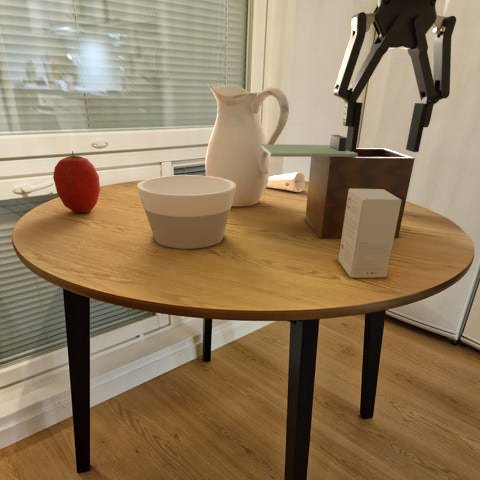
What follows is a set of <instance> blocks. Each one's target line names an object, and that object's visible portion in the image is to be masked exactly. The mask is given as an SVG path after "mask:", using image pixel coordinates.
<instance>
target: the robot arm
mask: <svg viewBox="0 0 480 480" xmlns="http://www.w3.org/2000/svg"><path fill="white" fill-rule="evenodd" d="M436 2H437V0H377V4H376V6H375V8H374V10H373V12H368V13H366V12H364V11H361V12H359V13H356V14H354V15H353V16H352V17H351V22H350V23H351V24H350V26H351V27H350V29H351V30H350V37H349V39H348V40H349V41H348V43H347V46H346V49H345V53H344V56H343V59H342V62H341V66H340V68H339V71H338V75H337V77H336V81H335V84H334V87H333V90H332V93H333V95H334V96H335V97H337V98H340V99H342V100H343V101H344V106H343V107H344V108H343V115H342V126H343V127H347V132H346V146H345V149H346V150H348V151H350V152H356V148H357V146H358V145H357V144H358V139H359V131H360V125H361V117H362V110H363V102H359V101H358V99H359V98H360V96H361V94H362V93H363V91H364V89H365V88H366V86H367V84H368V82H369V81H370V79H371V77H372V76H373V74H374V72H375V71H376V69H377V67H378V65H379V64H380V62H381V60H382V58H383V57H384V55H385V54H386V53H387V52H388V51H389V50H391V49H399V50H407V53H408V55H409V56H410V60H411V63H412V68H413V72H414V77H415V81H416V85H417V89H418V94H419V99H420V102H415V103H414V106H413V111H412V117H411V122H410V127H409V132H408V135H407V140H406V146H405V150H406V151H409V152H413V153H419V151H420V147H421V142H422V137H423V133H424V128H428V127H429V125H430V123H431V119H432V114H433V110H434V105H435V104H438V103H439V101H441V100H443V99H445V100H446V99H447V98H449V96H450V94H451V67H452V65H451V63H452V37H453V33H454V30H455V26H456V23H457V17H456V15H450V16H443V15H438V13H437V10H436V4H437V3H436ZM371 25H373V28H374V30H375V33H376V35H377V36H376V38H375V39H374V41H373V43H372V45H371V47H370V48H369V52H368V54H367V55H366V57H365V59H364V61H363V63H362V64H361V66H360V68H359V70H358V71H357V73H356V75H355V77H354V78H353V80H352V77H353V75H354V71H355V68H356V65H357V62H358V59H359V57H360V53H361V50H362V47H363V44H364V42H365V37H366V33H367V32H368V31H369V30H370V29H371ZM431 28H432V29H433V30H432V33H433V35H434V39H433V69H432V68H431V63H430V58H429V54H428V50H429V45H428V41H427V40H428V39H427V36H426V35H427V33H428V32H429V31H430V30H431ZM351 80H352V82H351ZM350 83H351V84H350Z"/></svg>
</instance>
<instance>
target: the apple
mask: <svg viewBox="0 0 480 480" xmlns="http://www.w3.org/2000/svg"><path fill="white" fill-rule="evenodd" d="M71 153H72V155H69V156H66V157H64V158H62V159H60V160H59V161H58V162H57V163H56V165H55V167H54V170H53V176H52V179H53V182H54V187H55V190H56V194H57V196H58V197H59V199H60V200H61V203H62V204H63V205H64V207H66V208H67V209H69V210H70V211H72V213H78V214H87V213H90V212H92V210H93V209H94V208H95V206H96V205H97V203H98V199H99V196H100V193H101V186H100V185H101V184H100V176H99V174H98V172H97V170H96V168H95V166H94V164H93V163H92V162H91V160H89V159H88V158H87V157H83V156H80V155H74V151H73V150H72V151H71Z"/></svg>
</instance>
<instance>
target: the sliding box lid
mask: <svg viewBox="0 0 480 480" xmlns="http://www.w3.org/2000/svg"><path fill="white" fill-rule="evenodd" d="M346 138H347V136H343V135H340V134H330V139H329V144H279V143H278V144H275V143H274V144H261V148H262V149H263V150H264V151H265V152H267V153H268V154H269V155H270V158H272V157H273V158H274V157H275V158H276V157H277V158H278V157H282V158H285V157H287V158H289V157H290V158H294V157H295V158H296V157H297V158H311V157H358V154H357V153H355V152H350V151H348V150H346V149H345V146H346Z"/></svg>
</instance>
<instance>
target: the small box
mask: <svg viewBox="0 0 480 480" xmlns="http://www.w3.org/2000/svg"><path fill="white" fill-rule="evenodd" d="M401 202H402V200H401V199H399V198H397V197H396V196H394V195H392V194H391V193H389V192H387V191H386V190H384V189H349V191H348V197H347V204H346V211H345V218H344V224H343V232H342V238H340V245H339V252H338V258H337V259H338V260H337V261H338V262H339V264H340V265H341V266H342V268H343V269H344V271H345V272H346V273H347V275H348V276H349V277H350V278H352V279H353V278H358V279H359V278H363V279H364V278H365V279H366V278H367V279H369V278H371V279H373V278H387V275H388V271H389V266H390V261H391V255H392V250H393V246H394V242H395V237H394V236H395V231H396V226H397V221H398V216H399V211H400V207H401Z"/></svg>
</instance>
